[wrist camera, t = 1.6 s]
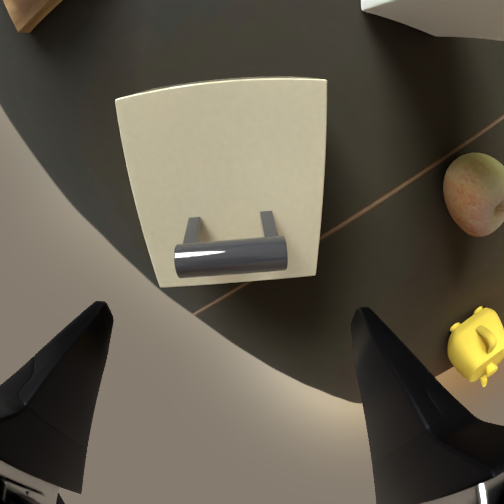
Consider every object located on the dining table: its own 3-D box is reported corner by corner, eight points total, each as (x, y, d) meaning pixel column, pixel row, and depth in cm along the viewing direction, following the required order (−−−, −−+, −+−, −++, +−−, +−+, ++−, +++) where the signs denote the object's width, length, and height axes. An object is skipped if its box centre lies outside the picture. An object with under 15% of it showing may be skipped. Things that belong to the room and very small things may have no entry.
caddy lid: (313, 268, 20) (333, 325, 16) (161, 280, 19) (148, 339, 15) (322, 79, 13) (365, 85, 8) (119, 97, 12) (72, 114, 8)
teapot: (484, 333, 42) (506, 373, 33) (442, 361, 45) (461, 404, 36) (492, 282, 32) (527, 331, 24) (439, 319, 35) (470, 375, 27)
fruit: (443, 132, 20) (505, 166, 13) (487, 154, 21) (540, 188, 14) (420, 205, 24) (467, 254, 18) (464, 215, 25) (508, 259, 18)
